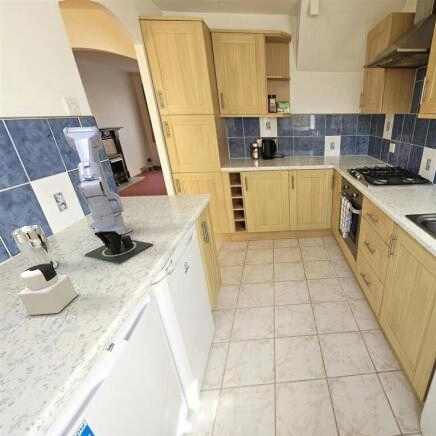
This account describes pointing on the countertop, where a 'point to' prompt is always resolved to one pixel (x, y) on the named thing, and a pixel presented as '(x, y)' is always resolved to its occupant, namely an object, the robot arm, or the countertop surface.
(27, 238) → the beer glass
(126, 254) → the slate board
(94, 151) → the robot arm
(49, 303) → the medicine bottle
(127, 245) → the eye stopper
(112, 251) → the eye stopper
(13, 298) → the countertop surface
